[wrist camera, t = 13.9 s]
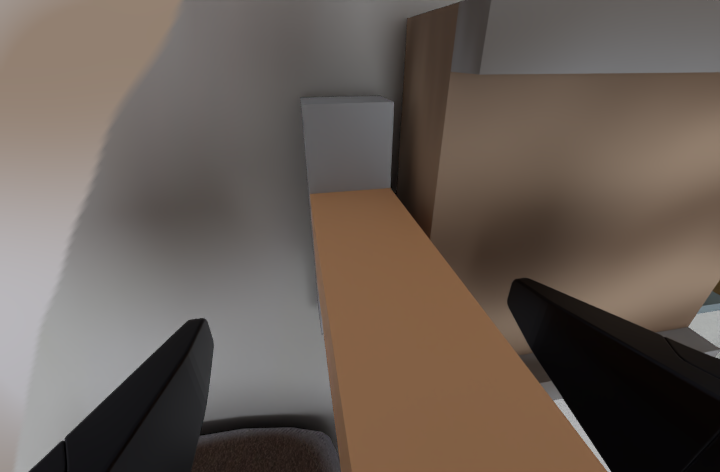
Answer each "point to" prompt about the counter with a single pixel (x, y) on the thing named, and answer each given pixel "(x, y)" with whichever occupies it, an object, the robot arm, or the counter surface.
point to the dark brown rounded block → (266, 451)
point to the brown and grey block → (411, 325)
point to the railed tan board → (569, 154)
